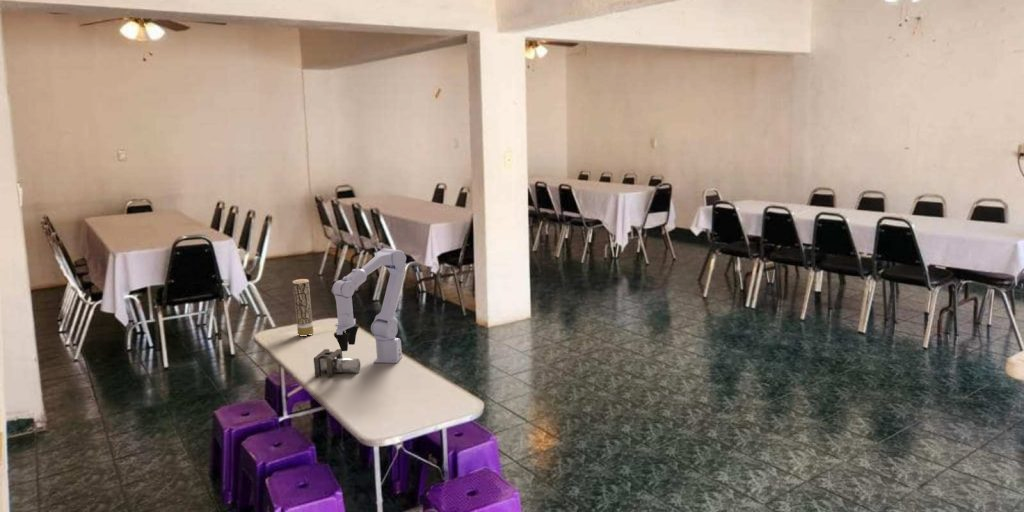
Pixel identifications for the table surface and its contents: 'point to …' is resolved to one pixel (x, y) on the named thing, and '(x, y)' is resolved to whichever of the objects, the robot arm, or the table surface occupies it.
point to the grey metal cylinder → (342, 365)
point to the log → (303, 306)
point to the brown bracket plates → (329, 358)
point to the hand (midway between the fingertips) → (348, 347)
